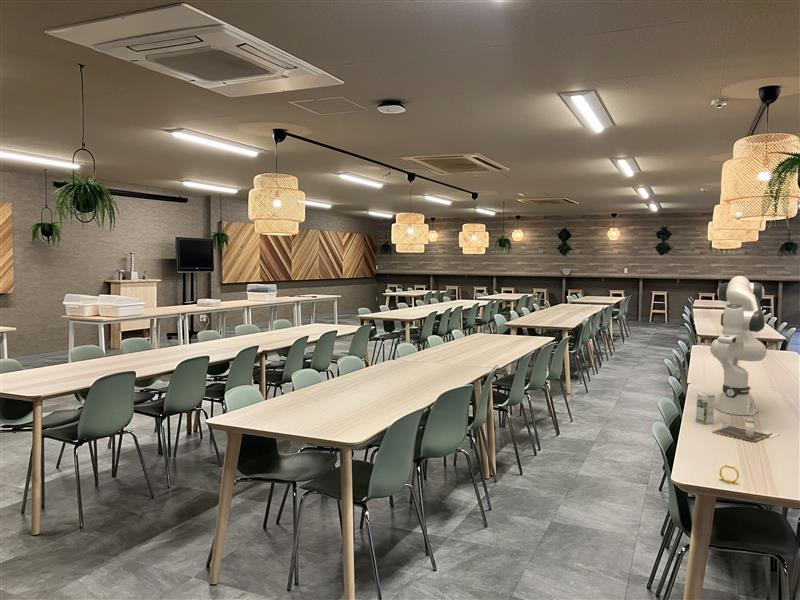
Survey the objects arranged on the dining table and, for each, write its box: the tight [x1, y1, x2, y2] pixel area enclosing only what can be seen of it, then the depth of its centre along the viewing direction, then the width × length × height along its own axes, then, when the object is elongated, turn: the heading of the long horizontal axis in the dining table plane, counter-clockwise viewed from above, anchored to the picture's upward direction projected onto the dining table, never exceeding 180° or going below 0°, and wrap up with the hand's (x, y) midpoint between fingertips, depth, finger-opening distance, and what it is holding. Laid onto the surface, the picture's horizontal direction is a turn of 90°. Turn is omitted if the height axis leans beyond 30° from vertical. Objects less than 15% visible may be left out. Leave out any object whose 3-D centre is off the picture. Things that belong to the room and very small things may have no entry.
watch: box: [718, 463, 740, 483], centre depth 209 cm, size 6×3×6 cm, turn 50°
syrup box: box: [695, 391, 716, 425], centre depth 289 cm, size 6×6×14 cm
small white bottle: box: [744, 417, 756, 438], centre depth 262 cm, size 3×3×8 cm
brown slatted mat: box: [712, 425, 770, 444], centre depth 269 cm, size 17×18×1 cm
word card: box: [763, 431, 779, 439], centre depth 269 cm, size 8×5×1 cm, turn 128°
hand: (730, 366), depth 283 cm, fingers open, 8 cm apart
